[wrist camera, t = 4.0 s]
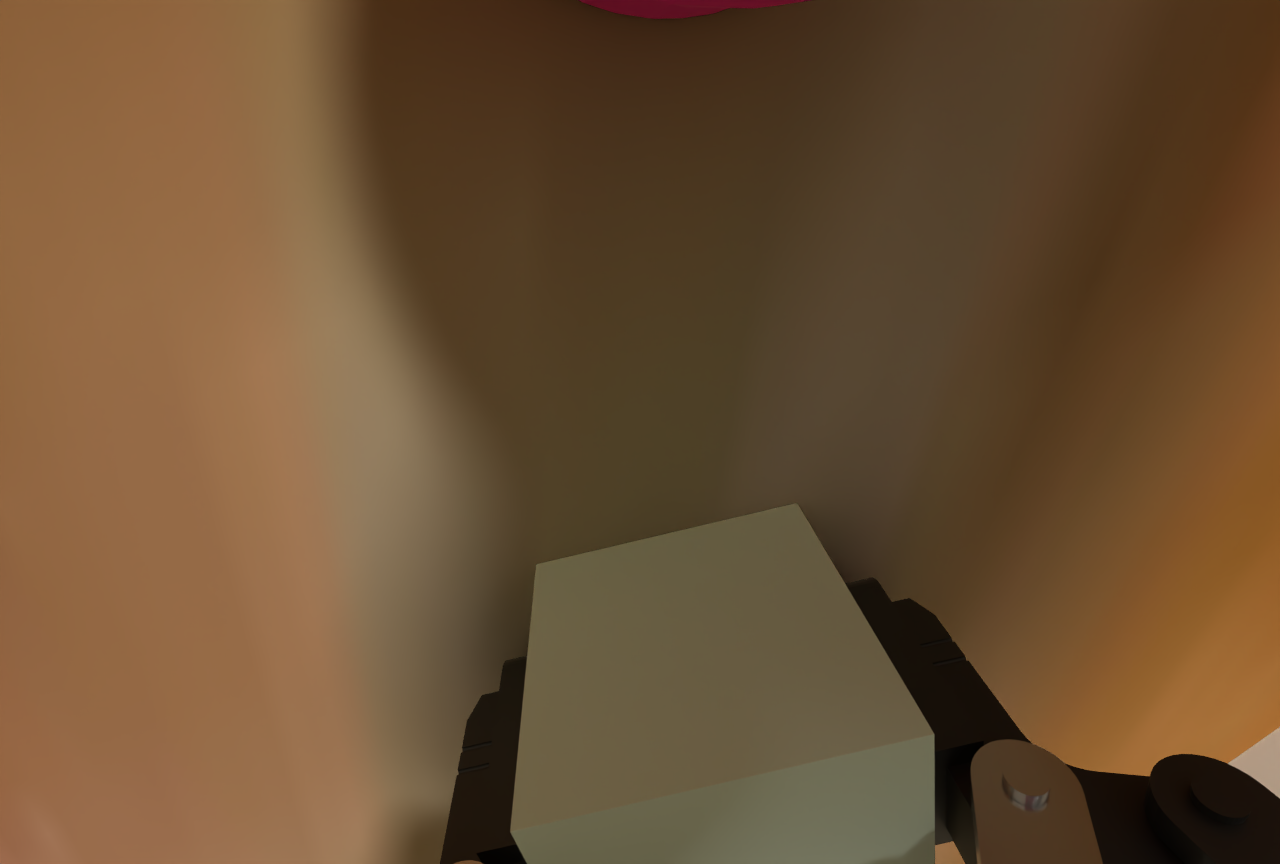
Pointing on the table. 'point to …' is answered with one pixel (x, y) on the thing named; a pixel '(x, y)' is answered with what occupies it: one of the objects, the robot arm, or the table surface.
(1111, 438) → the table surface
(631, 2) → the pepper mill
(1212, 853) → the robot arm
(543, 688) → the sage cube
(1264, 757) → the cream cube
